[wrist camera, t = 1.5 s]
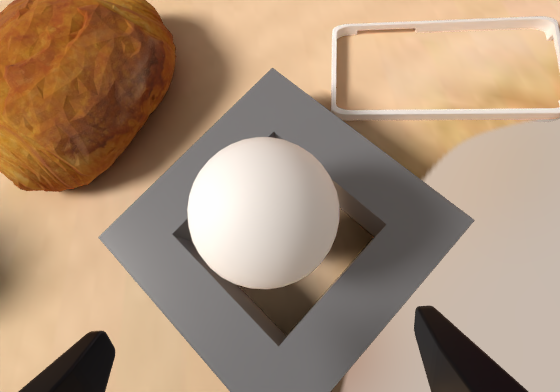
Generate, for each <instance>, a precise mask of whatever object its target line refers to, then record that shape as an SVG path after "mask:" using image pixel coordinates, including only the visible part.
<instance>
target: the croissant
mask: <svg viewBox="0 0 560 392" xmlns="http://www.w3.org/2000/svg"><path fill="white" fill-rule="evenodd" d="M175 50H176V48H175V45H174V43H173V36H172V34H171V33H170V32H169V31H168V30H167V28H166V27H165V26H164V25H163V22H162V20H161V18H160V15H159V14H158V13H157V11H156V10H155V8H154V7H153V6H152V5H151V4H149V3H148V2H147V1H146V0H15V1H13V2H12V3H10V4H9V5H8V6H7V7H6V8H5V9H4V10H3V11H2V12H1V13H0V172H1V173H3V174H4V175H5V176H6V177H7V178H8V179H10V180H11V181H13V183H14V184H15V185H16V186H17V187H19V188H20V189H22V190H26V191H32V190H35V191H38V190H44V191H58V192H61V191H63V190H66V189H75V188H77V187H79V186H83V185H88V184H89V183H90V182H91V181H92V180H94V179H95V178H96V177H97V176H99V175H100V174H101V173H103V172H104V171H105V170H107V169H108V168H109V167H110V166H111V165H112V164H113V163H114V161H115V160H116V158H117V157H118V156H119V155H120V154H121V153H122V152H123V151H124V150H125V148H126V147H127V146H128V145H129V144H130V142H131V141H132V139H133V138H134V137H135V135H136V133H137V132H138V131H139V130H140V129H141V128H142V126H143V125H144V124H145V122H146V121H147V119H148V117H149V114H150V113H152V112H153V111H154V110H155V109H156V108H157V106H158V105H159V104H160V102H161V101H162V99H163V97H164V96H165V94H166V92H167V90H168V88H169V86H170V83H171V80H172V76H173V72H174V68H175V58H176V55H175Z"/></svg>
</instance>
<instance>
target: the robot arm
mask: <svg viewBox="0 0 560 392" xmlns="http://www.w3.org/2000/svg"><path fill="white" fill-rule="evenodd" d="M414 331H415V336H416V340H417V343H418V346H419V350H420V354H421V357H422V361H423V364H424V368H425V371H426V374H427V378H428V382H429V385H430V389H431V392H528V391H527V390H526V389H525V388H524V387H523V386H521V385H520V384H519V383H518V382H517V381H516V380H515V379H514V378H513V377H511V376H510V375H509V374H508V373H507V372H506V371H505V370H503V369H502V368H501V367H500V366H499V365H498V364H497V363H496V362H495V361H493V360H492V359H491V358H490V357H489V356H488V355H487V354H486V353H485V352H483V351H482V350H481V349H480V348H479V347H478V346H477V345H475V344H474V343H473V342H472V341H471V340H470V339H469V338H468V337H466V335H464V334H463V333H462V332H461V331H460V330H459V329H458V328H457V327H455V326H454V325H453V324H452V323H451V322H450V321H449V320H448V319H446V318H445V317H444V316H443V315H442V314H441V313H440V312H439V311H437V310H436V309H435V308H434V307H432V306H419V307H417V308H416V311H415V323H414ZM114 358H115V348H114V346H113V344H112V342H111V341H110V339H109V337H108V335H107V334H106V332H104V331H92V332H89V333H87V334H86V335H85V336H84V337H82V338H81V339H80V340H79V341H78V342H77V343H75V344H74V345H73V346H72V347H71V348H69V349H68V350H67V351H66V352H65V353H64V354H62V355H61V356H60V357H59V358H58V359H56V360H55V361H54V362H53V363H52V364H51V365H49V366H48V367H47V368H46V369H45V370H43V371H42V372H41V373H40V374H39V375H38V376H36V377H35V378H34V379H33V380H32V381H30V382H29V383H28V384H27V385H26V386H25V387H23V388H22V389H21V390H20V391H19V392H105V390H106V386H107V383H108V379H109V376H110V372H111V368H112V365H113V361H114Z"/></svg>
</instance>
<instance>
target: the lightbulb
mask: <svg viewBox="0 0 560 392" xmlns="http://www.w3.org/2000/svg"><path fill="white" fill-rule="evenodd" d="M187 212H188V226H189V230H190V234H191V238H192V241H193V243H194V245H195V247H196V249H197V251H198V253H199V254H200V256H201V257H202V258H203V259H204V261H205V262H206V263H207V264H208V266H209V267H210V268H211V269H212V270H213V271H215V272H216V273H217V274H218V275H220V276H221V277H222V278H224V279H226V280H228V281H230V282H232V283H234V284H236V285H240V286H243V287H247V288H254V289H273V288H279V287H284V286H287V285H289V284H292V283H295V282H297V281H299V280H300V279H302V278H304V277H305V276H307V275H309V274H310V273H311V272H312V271H313V270H314V269H315V268H316V267H317V266H319V265H320V264H321V262H322V261H323V260H324V258H325V257H326V255H327V254H328V252H329V251H330V249H331V246H332V244H333V242H334V240H335V237H336V234H337V229H338V224H339V201H338V196H337V191H336V189H335V186H334V184H333V182H332V179H331V177H330V176H329V174H328V173H327V171H326V170H325V168H324V167H323V165H322V164H321V163H320V162H319V161H318V160H317V159H316V158H315V157H314V156H313V155H312V154H311V153H309V152H308V151H306V150H305V149H303V148H301V147H300V146H298V145H296V144H293V143H291V142H288V141H286V140H283V139H278V138H272V137H255V138H249V139H244V140H241V141H238V142H236V143H233V144H230V145H229V146H227V147H225V148H224V149H222V150H220V151H219V152H218V153H216V154H215V155H214V156H213V157H212V158H211V159H209V160H208V162H207V163H206V164H205V165H204V166H203V168H202V169H201V170H200V172H199V174H198V175H197V177H196V179H195V181H194V183H193V186H192V189H191V192H190V195H189V200H188V208H187Z"/></svg>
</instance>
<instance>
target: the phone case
mask: <svg viewBox="0 0 560 392" xmlns="http://www.w3.org/2000/svg"><path fill="white" fill-rule="evenodd" d="M407 28H415V33H426V32H454V31H482V30H510V29H537V30H541V31H543V32H545V33H546V38H547V41H551V40H553V39H554V44H555V49H556V54H557V59H558V64H559V70H560V31H559V26H558V22H557V20H555V19H553V18H550V17H545V16H535V17H510V18H485V19H460V20H435V21H410V22H385V23H360V24H343V25H339V26H337V27H335V28H334V29H333V32H332V82H331V112H332V113H333V114H334V115H336V116H337V117H338V118H340V119H341V120H530V121H526V122H551V121H555V120H558V119H560V108H540V109H432V110H345V109H341V108H339V107H337V106H336V48H337V39H338V38H340V37H342V36H347V35H357V30H381V29H407ZM559 106H560V100H559ZM532 119H535V120H532Z"/></svg>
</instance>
